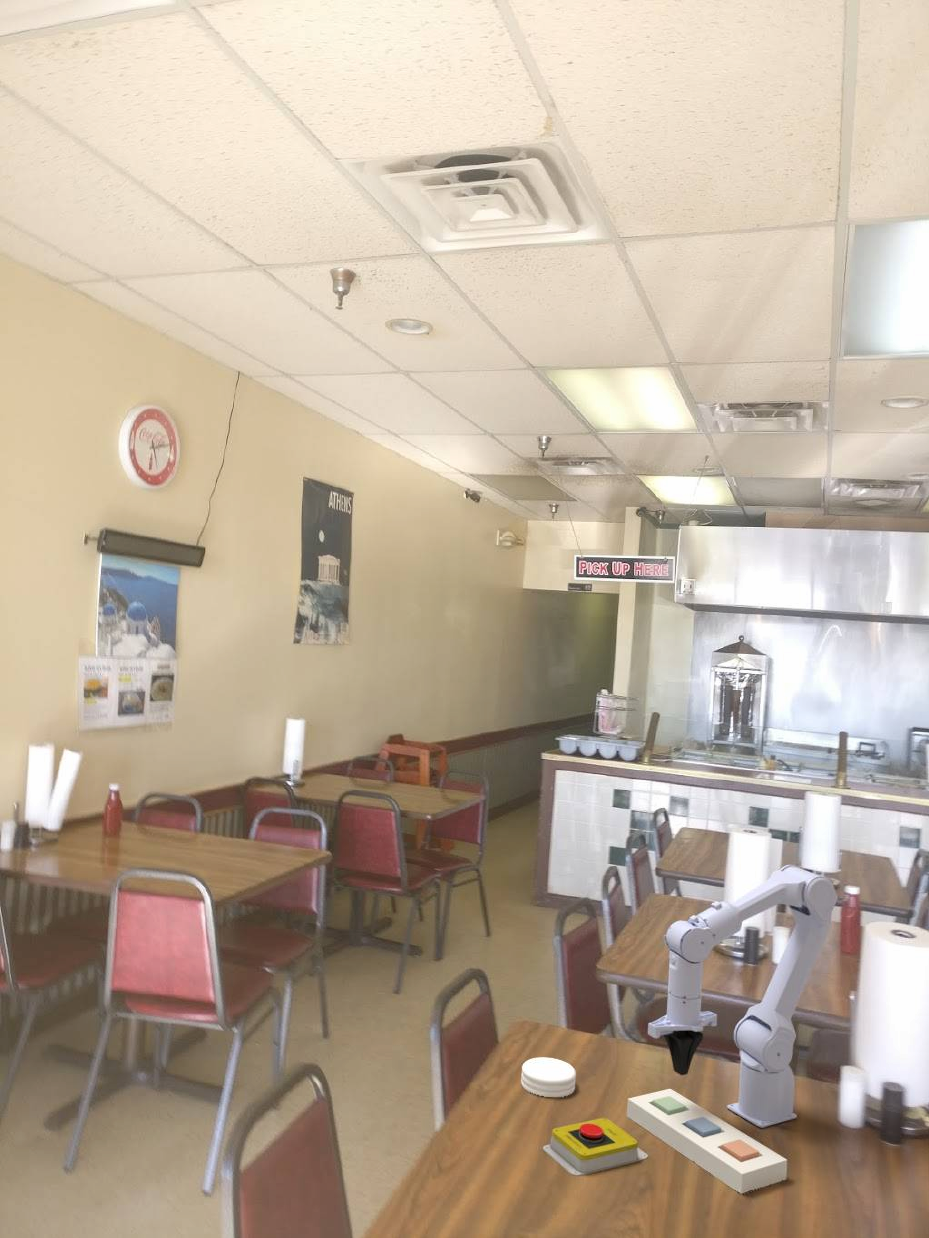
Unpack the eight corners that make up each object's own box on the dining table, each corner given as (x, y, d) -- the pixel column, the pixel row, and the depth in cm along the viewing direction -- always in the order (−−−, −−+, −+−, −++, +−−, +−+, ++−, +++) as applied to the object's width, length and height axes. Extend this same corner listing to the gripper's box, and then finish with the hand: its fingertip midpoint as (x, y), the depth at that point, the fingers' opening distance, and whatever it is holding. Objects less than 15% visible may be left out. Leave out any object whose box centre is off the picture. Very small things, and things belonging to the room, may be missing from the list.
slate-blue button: (702, 1134, 158) (703, 1116, 159) (719, 1146, 155) (720, 1127, 155) (684, 1139, 156) (685, 1121, 157) (702, 1151, 153) (703, 1132, 153)
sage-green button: (668, 1113, 165) (669, 1095, 165) (685, 1123, 162) (686, 1106, 162) (651, 1117, 163) (652, 1100, 163) (667, 1128, 160) (668, 1110, 160)
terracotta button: (738, 1158, 152) (739, 1139, 152) (758, 1170, 148) (759, 1151, 148) (720, 1163, 150) (721, 1144, 150) (740, 1176, 146) (741, 1156, 146)
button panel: (669, 1105, 169) (670, 1088, 170) (786, 1179, 147) (787, 1159, 147) (626, 1116, 164) (627, 1098, 164) (741, 1194, 142) (742, 1173, 142)
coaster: (515, 1092, 171) (516, 1073, 171) (527, 1070, 180) (528, 1052, 180) (569, 1104, 168) (570, 1084, 168) (579, 1081, 177) (580, 1062, 177)
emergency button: (541, 1122, 152) (615, 1106, 159) (540, 1150, 152) (614, 1133, 159) (575, 1150, 144) (652, 1133, 151) (573, 1180, 144) (650, 1160, 151)
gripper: (670, 1007, 157) (665, 1089, 157) (731, 995, 165) (727, 1074, 164) (641, 992, 163) (637, 1072, 163) (701, 982, 171) (698, 1058, 170)
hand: (680, 1072), depth 164 cm, fingers closed
